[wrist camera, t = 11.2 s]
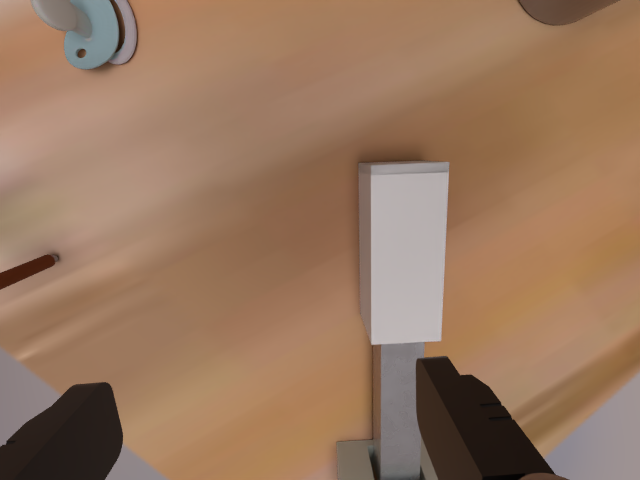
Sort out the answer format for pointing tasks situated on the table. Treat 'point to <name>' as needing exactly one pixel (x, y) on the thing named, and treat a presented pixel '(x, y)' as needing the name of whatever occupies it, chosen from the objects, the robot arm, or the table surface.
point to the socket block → (371, 461)
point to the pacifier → (90, 29)
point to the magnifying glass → (26, 270)
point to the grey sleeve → (402, 249)
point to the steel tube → (396, 411)
